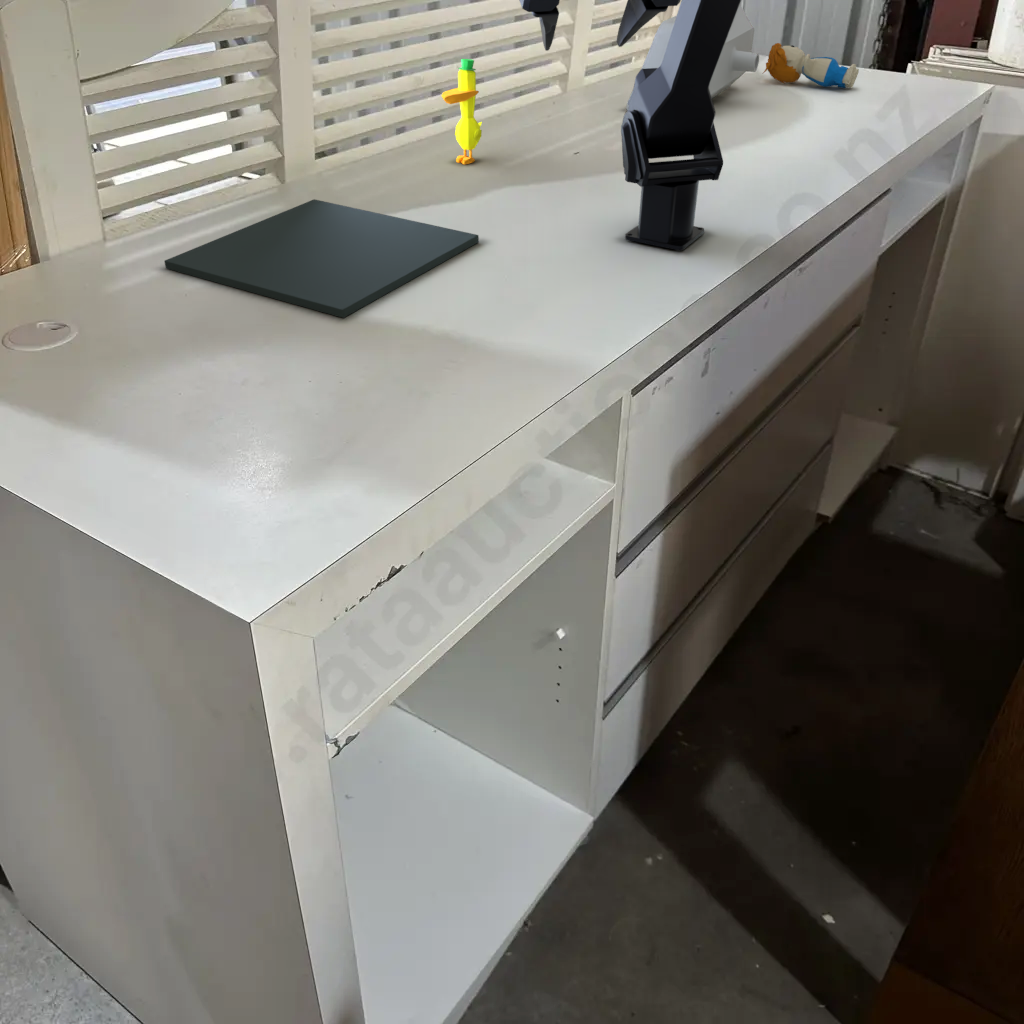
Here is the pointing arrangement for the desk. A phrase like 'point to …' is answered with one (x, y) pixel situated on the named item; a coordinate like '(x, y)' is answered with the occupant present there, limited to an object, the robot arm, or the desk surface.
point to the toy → (808, 68)
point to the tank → (731, 60)
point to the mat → (324, 256)
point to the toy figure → (465, 110)
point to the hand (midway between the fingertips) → (582, 46)
